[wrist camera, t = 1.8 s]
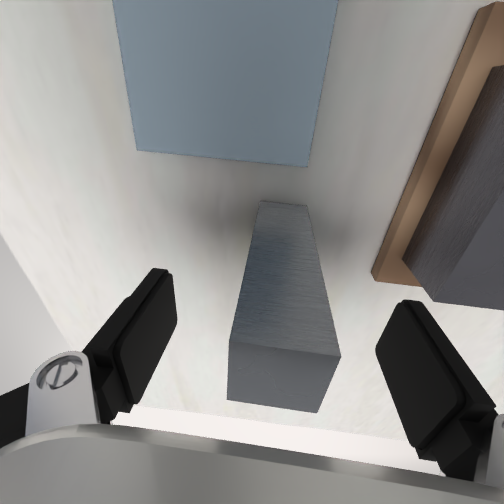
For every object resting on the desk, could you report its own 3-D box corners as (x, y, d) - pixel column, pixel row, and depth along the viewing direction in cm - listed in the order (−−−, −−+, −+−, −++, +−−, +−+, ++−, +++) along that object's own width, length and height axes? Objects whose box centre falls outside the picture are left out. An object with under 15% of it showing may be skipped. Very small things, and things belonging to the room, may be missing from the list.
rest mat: (100, -122, 10) (90, -134, 9) (356, -111, 9) (361, -123, 9) (141, 148, 15) (136, 150, 15) (306, 165, 15) (307, 167, 14)
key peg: (260, 200, 16) (229, 340, 7) (306, 205, 16) (341, 356, 7) (256, 241, 18) (226, 399, 8) (298, 246, 17) (317, 413, 8)
